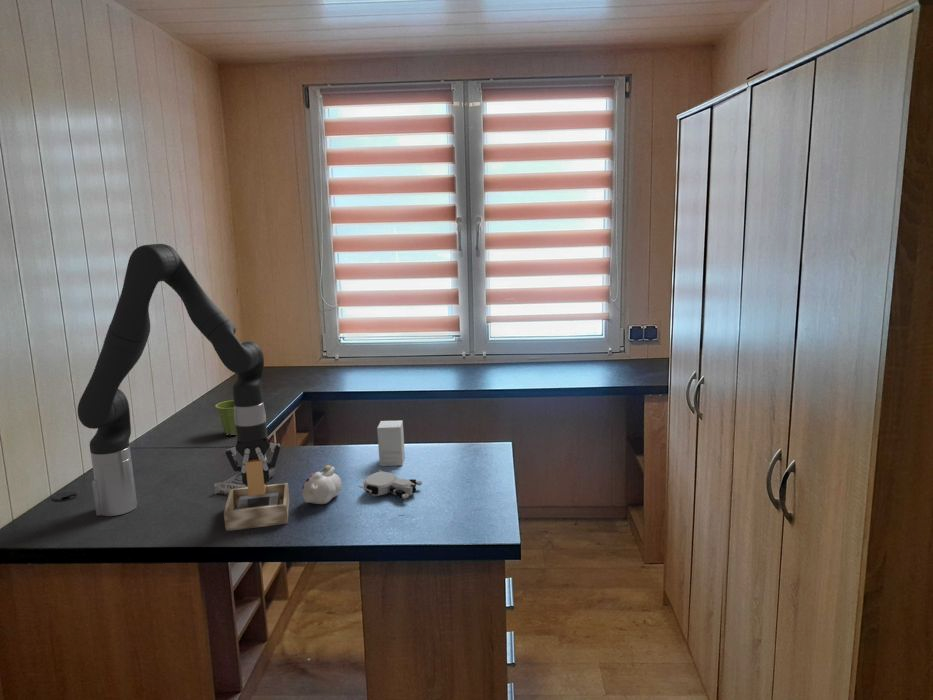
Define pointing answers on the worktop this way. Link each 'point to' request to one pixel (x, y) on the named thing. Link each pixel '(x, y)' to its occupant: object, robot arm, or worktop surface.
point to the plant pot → (227, 416)
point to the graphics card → (234, 483)
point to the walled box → (257, 508)
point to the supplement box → (391, 443)
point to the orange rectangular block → (255, 477)
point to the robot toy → (389, 485)
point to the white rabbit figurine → (322, 486)
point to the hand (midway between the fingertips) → (256, 483)
